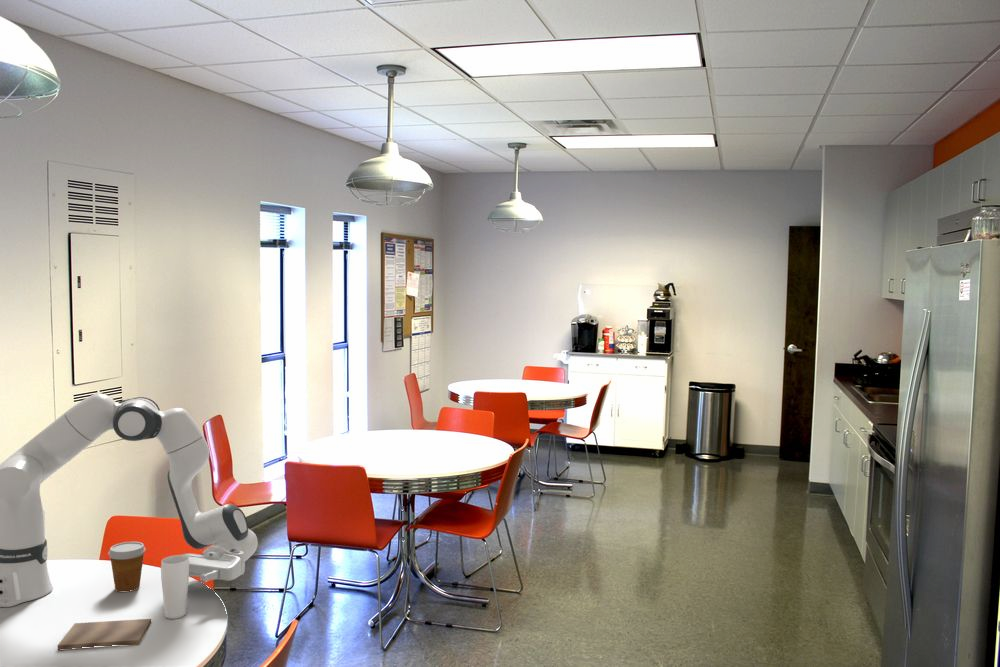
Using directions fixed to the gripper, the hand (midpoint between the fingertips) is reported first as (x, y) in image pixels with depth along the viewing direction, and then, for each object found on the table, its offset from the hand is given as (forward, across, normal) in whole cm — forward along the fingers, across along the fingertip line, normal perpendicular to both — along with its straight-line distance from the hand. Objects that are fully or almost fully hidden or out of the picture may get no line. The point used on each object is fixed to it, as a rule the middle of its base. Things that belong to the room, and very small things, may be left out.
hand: (187, 577), depth 208 cm
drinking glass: (+5, 0, +9) cm, 10 cm away
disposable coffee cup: (-7, -24, +9) cm, 27 cm away
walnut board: (+20, -8, +8) cm, 23 cm away
